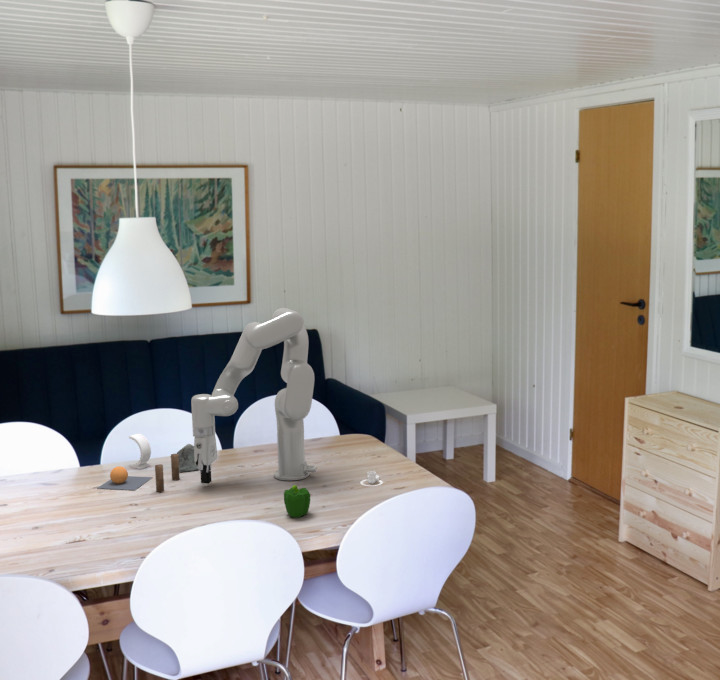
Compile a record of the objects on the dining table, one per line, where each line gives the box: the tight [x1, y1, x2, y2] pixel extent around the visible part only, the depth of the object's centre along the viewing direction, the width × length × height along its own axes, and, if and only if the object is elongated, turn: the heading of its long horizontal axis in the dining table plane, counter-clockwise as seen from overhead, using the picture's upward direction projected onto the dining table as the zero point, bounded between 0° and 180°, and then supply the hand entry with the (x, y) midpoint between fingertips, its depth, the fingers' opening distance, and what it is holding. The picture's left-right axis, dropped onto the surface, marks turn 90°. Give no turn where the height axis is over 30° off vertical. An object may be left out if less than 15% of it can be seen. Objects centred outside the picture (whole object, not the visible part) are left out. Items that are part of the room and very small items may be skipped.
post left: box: [154, 464, 165, 493], centre depth 276 cm, size 3×3×9 cm
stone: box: [176, 443, 198, 473], centre depth 301 cm, size 10×10×10 cm
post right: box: [170, 453, 180, 481], centre depth 288 cm, size 3×3×9 cm
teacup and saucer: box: [359, 470, 384, 487], centre depth 282 cm, size 9×8×4 cm
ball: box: [109, 466, 129, 484], centre depth 285 cm, size 6×6×6 cm
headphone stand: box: [128, 433, 152, 470], centre depth 304 cm, size 5×6×12 cm
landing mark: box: [96, 475, 154, 491], centre depth 285 cm, size 14×14×1 cm
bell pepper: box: [283, 484, 311, 518], centre depth 251 cm, size 8×8×10 cm
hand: (206, 482), depth 280 cm, fingers closed
